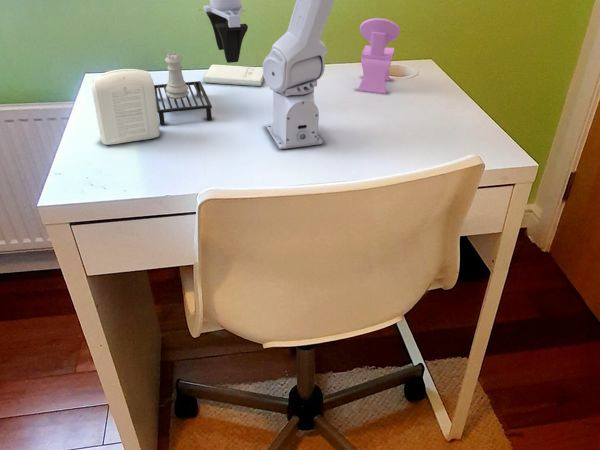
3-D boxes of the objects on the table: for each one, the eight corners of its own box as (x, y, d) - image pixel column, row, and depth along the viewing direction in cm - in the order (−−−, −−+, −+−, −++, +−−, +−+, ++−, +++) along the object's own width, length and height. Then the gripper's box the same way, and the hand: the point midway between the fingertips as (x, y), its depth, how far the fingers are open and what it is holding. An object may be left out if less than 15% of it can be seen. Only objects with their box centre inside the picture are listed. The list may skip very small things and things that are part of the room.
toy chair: (394, 79, 125) (403, 11, 117) (391, 94, 118) (400, 22, 110) (358, 76, 127) (364, 8, 118) (352, 89, 120) (359, 18, 111)
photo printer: (157, 128, 101) (148, 62, 94) (163, 138, 98) (154, 70, 91) (99, 137, 98) (86, 69, 91) (103, 148, 95) (89, 78, 88)
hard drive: (212, 70, 127) (266, 73, 126) (204, 83, 120) (260, 86, 120) (212, 63, 126) (266, 66, 125) (203, 76, 119) (260, 79, 119)
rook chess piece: (170, 90, 109) (165, 49, 104) (192, 91, 108) (188, 51, 104) (162, 98, 105) (157, 57, 101) (185, 100, 105) (181, 59, 100)
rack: (212, 120, 105) (211, 105, 103) (159, 126, 102) (157, 111, 101) (201, 94, 115) (200, 80, 113) (152, 99, 112) (150, 85, 111)
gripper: (195, -28, 103) (200, 45, 111) (209, -10, 92) (214, 69, 100) (232, -29, 105) (235, 42, 113) (251, -12, 94) (252, 66, 101)
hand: (228, 55), depth 106 cm, fingers open, 7 cm apart
